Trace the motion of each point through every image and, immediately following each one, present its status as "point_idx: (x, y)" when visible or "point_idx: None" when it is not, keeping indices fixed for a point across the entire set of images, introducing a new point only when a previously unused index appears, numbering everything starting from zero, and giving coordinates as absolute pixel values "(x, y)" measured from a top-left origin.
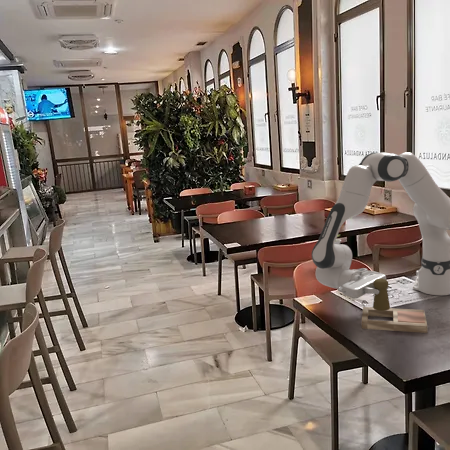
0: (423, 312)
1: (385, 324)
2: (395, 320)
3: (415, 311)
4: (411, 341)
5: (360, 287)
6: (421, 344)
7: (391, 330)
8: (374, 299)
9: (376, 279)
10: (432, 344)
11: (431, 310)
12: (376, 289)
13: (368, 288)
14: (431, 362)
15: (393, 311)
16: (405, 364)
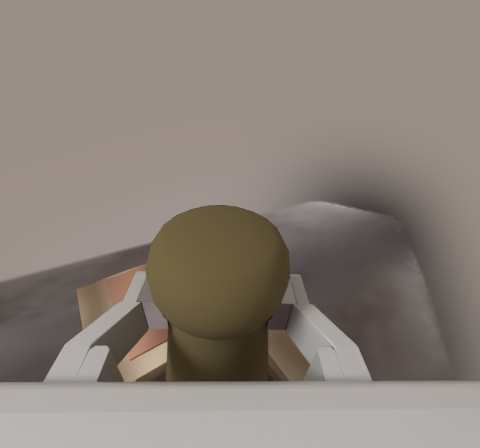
0: (104, 281)
1: (284, 330)
2: None
3: (103, 303)
4: None
5: (471, 390)
6: None
7: None
8: (261, 377)
9: (231, 264)
10: None
11: (13, 309)
12: (295, 281)
13: (347, 339)
14: (316, 214)
15: (139, 375)
16: (367, 233)
